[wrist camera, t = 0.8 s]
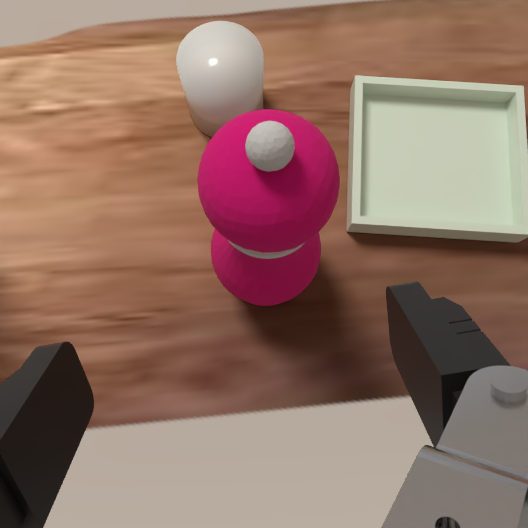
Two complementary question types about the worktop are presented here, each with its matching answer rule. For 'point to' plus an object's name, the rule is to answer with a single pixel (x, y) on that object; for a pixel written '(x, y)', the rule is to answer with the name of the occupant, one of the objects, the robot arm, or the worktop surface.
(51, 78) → the worktop surface
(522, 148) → the tray
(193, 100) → the grey rounded block
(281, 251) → the pepper mill
